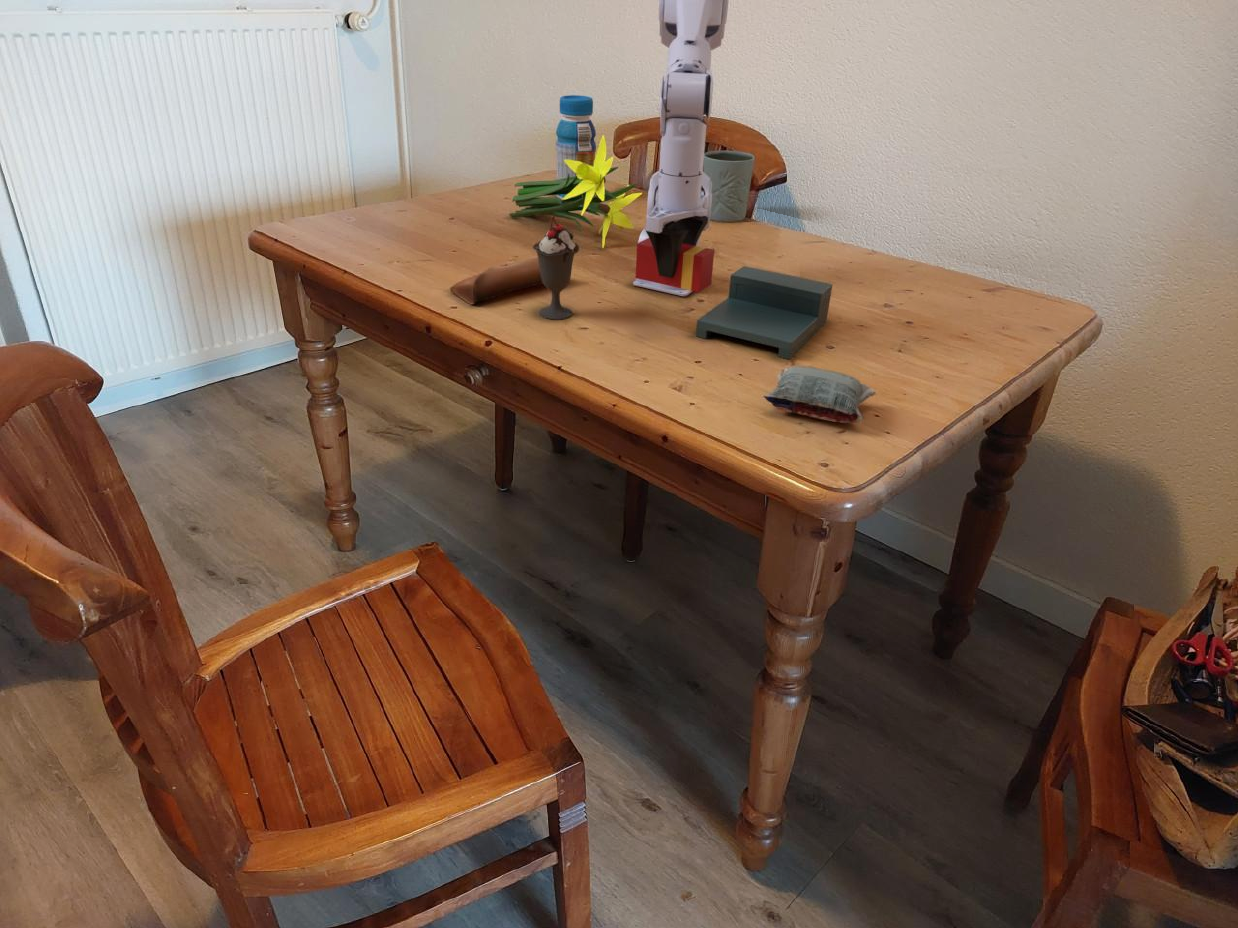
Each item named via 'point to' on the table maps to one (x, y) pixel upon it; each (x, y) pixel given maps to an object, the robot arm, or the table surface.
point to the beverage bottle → (575, 134)
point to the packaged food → (819, 394)
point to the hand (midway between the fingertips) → (673, 271)
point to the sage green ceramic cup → (729, 183)
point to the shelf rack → (769, 310)
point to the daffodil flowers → (576, 185)
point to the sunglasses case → (498, 281)
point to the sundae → (556, 267)
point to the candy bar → (690, 267)
